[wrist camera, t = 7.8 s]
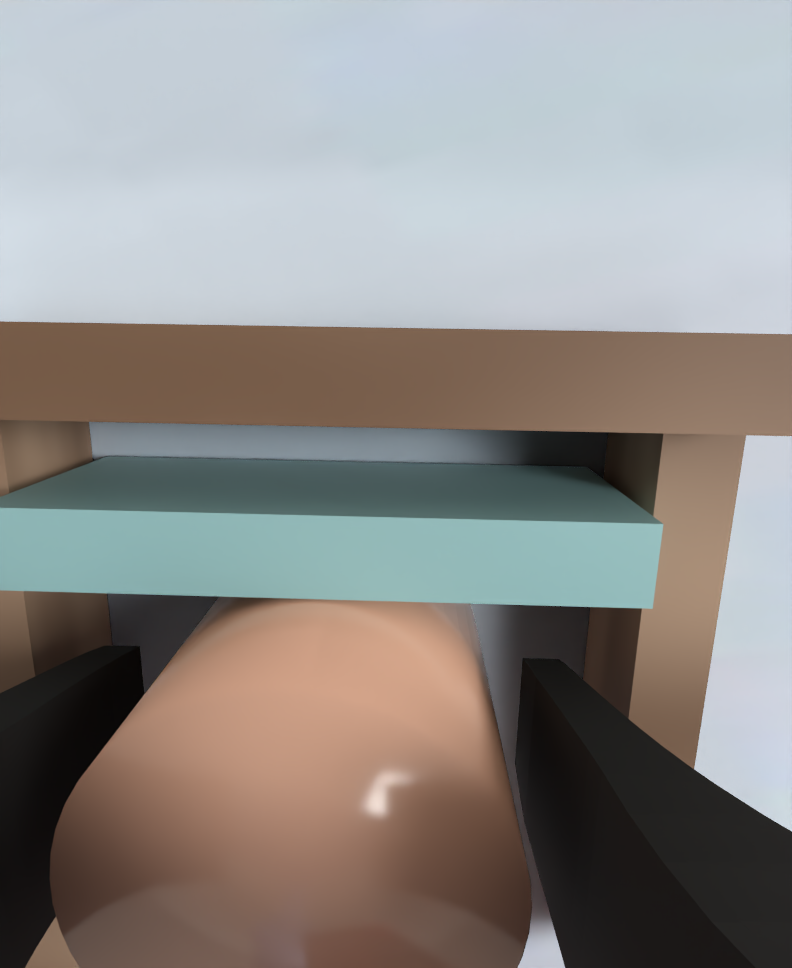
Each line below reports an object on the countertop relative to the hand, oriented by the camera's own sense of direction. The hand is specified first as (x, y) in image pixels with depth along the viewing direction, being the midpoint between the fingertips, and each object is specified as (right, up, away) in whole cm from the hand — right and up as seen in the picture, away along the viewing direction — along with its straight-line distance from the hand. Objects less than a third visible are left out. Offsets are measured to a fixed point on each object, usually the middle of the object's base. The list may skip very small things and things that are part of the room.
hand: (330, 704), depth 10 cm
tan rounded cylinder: (0, 0, +2) cm, 3 cm away
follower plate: (0, +4, +2) cm, 4 cm away
